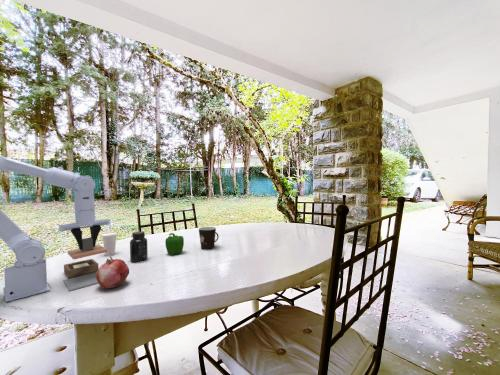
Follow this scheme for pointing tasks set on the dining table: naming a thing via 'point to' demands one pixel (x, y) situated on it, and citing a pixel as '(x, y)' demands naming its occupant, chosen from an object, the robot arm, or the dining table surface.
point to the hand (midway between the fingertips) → (87, 248)
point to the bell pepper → (174, 244)
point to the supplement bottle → (138, 247)
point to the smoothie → (109, 242)
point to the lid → (87, 249)
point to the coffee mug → (207, 237)
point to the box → (80, 268)
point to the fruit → (112, 273)
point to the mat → (81, 281)
